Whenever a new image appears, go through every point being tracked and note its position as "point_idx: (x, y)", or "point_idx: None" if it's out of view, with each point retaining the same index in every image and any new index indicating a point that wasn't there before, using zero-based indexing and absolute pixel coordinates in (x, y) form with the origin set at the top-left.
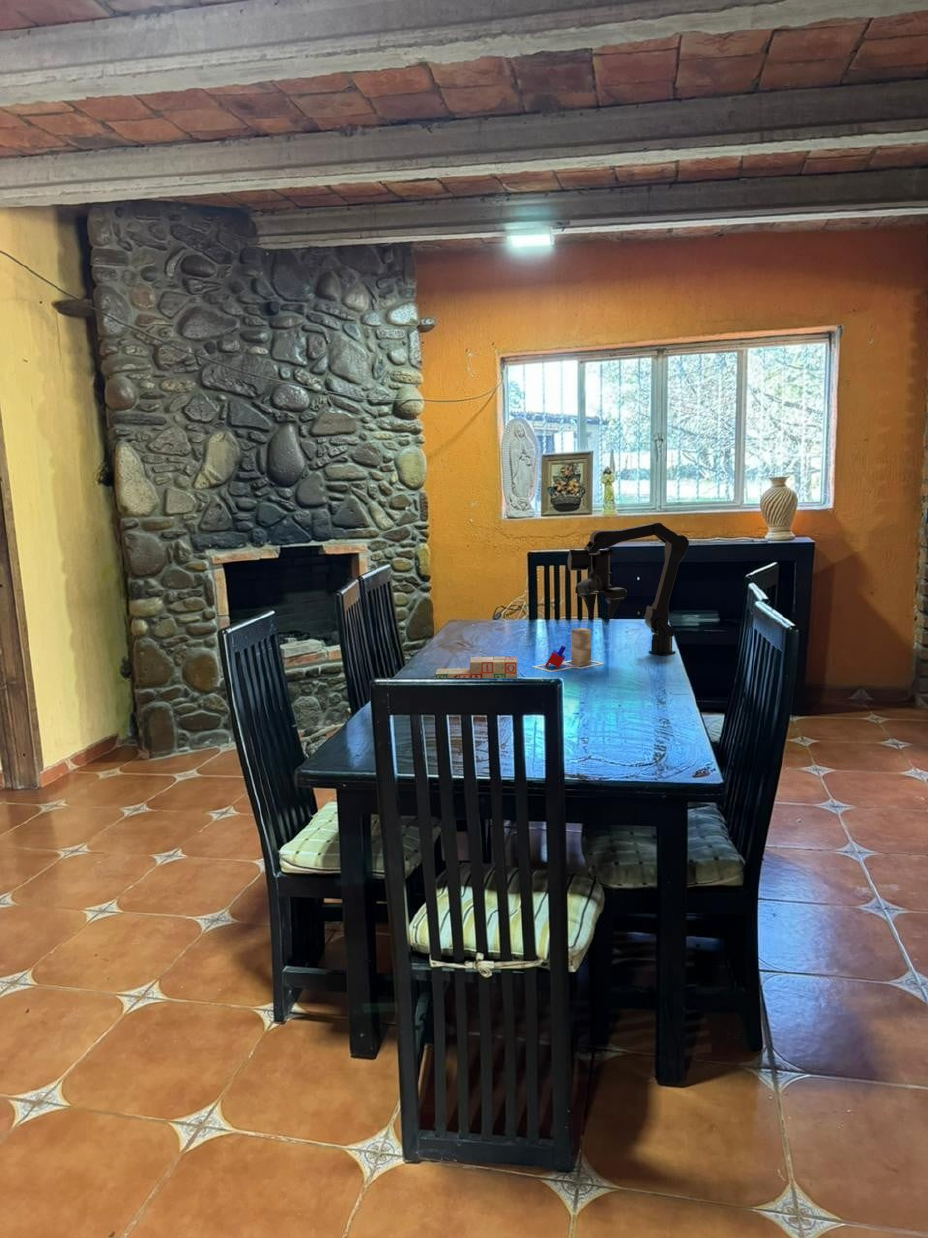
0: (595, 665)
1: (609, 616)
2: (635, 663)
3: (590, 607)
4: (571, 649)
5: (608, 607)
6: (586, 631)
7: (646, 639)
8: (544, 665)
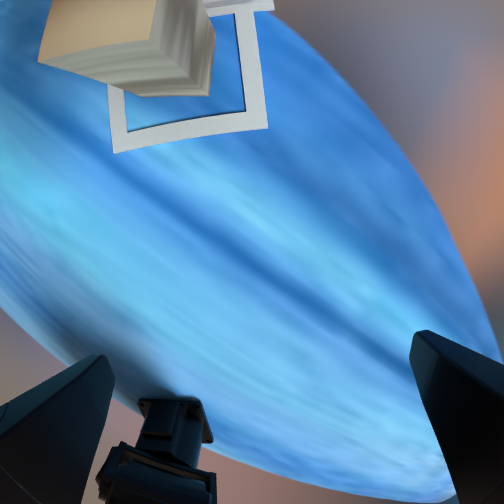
0: (108, 100)
1: (76, 363)
2: (75, 266)
3: (459, 399)
4: (202, 7)
5: (9, 420)
6: (50, 26)
7: (356, 466)
8: None
